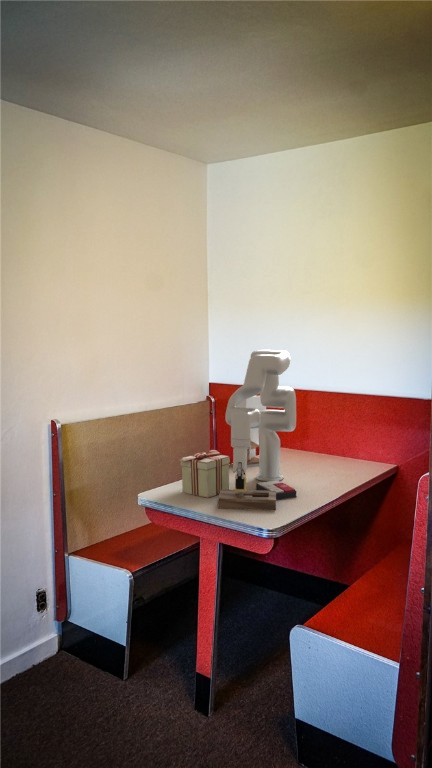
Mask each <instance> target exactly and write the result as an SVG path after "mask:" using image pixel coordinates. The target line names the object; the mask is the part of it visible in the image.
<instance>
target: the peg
mask: <svg viewBox="0 0 432 768" xmlns="http://www.w3.org/2000/svg"><path fill="white" fill-rule="evenodd" d="M243 479H244V489H236V475H235V477H234V482H235V484H234V487H235V489H234V490H235V492H238V495H240V496H243V492H246V490H247V474H245V475H244V476H243Z"/></svg>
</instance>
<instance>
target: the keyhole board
mask: <svg viewBox="0 0 432 768" xmlns="http://www.w3.org/2000/svg"><path fill="white" fill-rule="evenodd" d="M218 495H219V496H218V499H217V508H218V509H219V510H222V509H223V510H246V511H249V510H250V511H251V510H252V511H277V500H276V491H262V490H256V489H246V492H243V496H240V495H238V492H235V489H229V490H222V489H221V492H220V494H218Z"/></svg>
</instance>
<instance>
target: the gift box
mask: <svg viewBox="0 0 432 768" xmlns="http://www.w3.org/2000/svg"><path fill="white" fill-rule="evenodd" d="M177 460H178V461H180V467H181V482H182V483H181V485H182V493H184V494H188V495H193V496H196V497H201V498H207V499H209V498H211V497H215V496H218V495H220V492H221V489H222V490H230V467H229V465H230V464H231V463H230V462H231V461H230V456H229V455H223V454H222V452H221V453H220V452H219V451H218V450H216V449H210V450H208V451H207V452H196V453H194V454H191V455H189V456H184V457H181V458H178V459H177Z"/></svg>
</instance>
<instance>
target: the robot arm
mask: <svg viewBox="0 0 432 768" xmlns="http://www.w3.org/2000/svg"><path fill="white" fill-rule="evenodd" d="M290 364H291V356H290V353H289V352H288V351H287V350H275V349H274V350H273V349H272V350H271V349H258V350H254V351H252V352H251V353H250V358H249V361H248V365H247V368H246V373H245V377H244V380H243V384H242V386H240V387H239V388H238V389H236V390H235V391H234V392H233V393H232V394H231V396H230V397H229V399H228V401H227V402H228V403H227V407H226V411H225V418H224V419H225V422H226V424H227V425H229V426H230V446H231V447H232V448H233V452H232V456H233V457H232V459H233V460H232V464H233V465H232V472H233V474H234V473H235V476H236V489H244V479H243V476H244V475H246V471H247V467H246V466H247V448H248V447H250V427H256V426H258V428H259V446H258V448H259V449H258V450H259V451H258V453H259V455H258V458H259V466H258V468H259V469H258V473H256V474H255V479H256V480H259V481H263V482H269V481H277V480H278V481H282V480H283V479H284V475H283V474H281V439H280V437H279V435H278V434H277V432H286V433H287V432H288V433H290V432H293V431H295V429H296V426H297V397H296V395H297V394H296V391H295V389H294V388H293V387H290V386H280V380H279V379H280V378H279V376H280V375H283V373H284V372H286V371H287V370H288V369H289V367H290ZM255 395H256V396H260V400H261V404H262V405H263V406H265V407H266V408H278V409H266V410H263V411H261V412H260V411H259V410H257V409H254V408H239V407H237V406H238V404H239V403H240V402H242V401H243V400H245V399H248V398H250V397H253V396H255ZM280 409H281V410H280ZM282 409H283V410H282Z"/></svg>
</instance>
